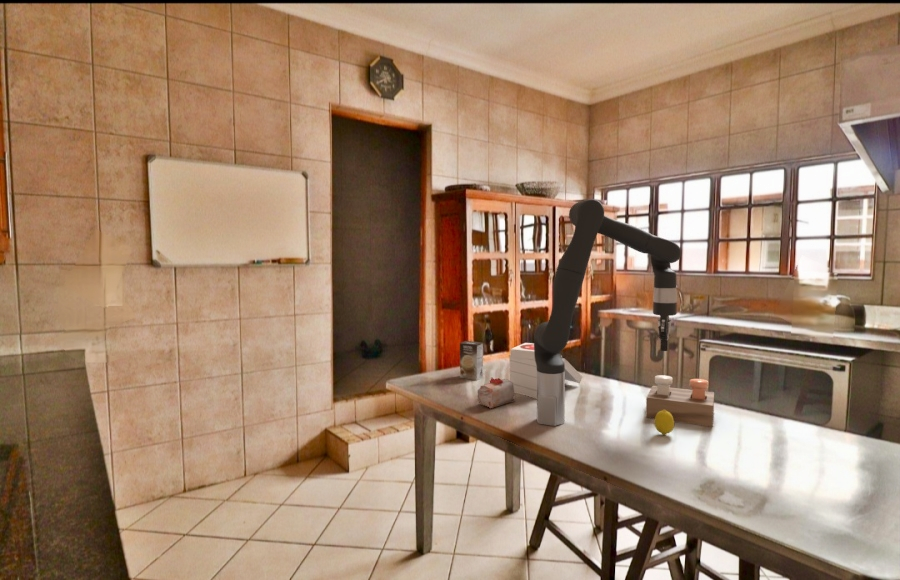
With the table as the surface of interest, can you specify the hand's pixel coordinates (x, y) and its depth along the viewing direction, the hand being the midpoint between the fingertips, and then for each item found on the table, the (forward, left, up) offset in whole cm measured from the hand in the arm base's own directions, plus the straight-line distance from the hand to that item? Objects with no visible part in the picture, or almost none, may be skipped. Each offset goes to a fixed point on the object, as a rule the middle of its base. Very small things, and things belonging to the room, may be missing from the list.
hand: (664, 350), depth 172 cm
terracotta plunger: (0, -11, -18) cm, 21 cm away
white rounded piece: (0, 0, -18) cm, 18 cm away
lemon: (-22, -2, -22) cm, 31 cm away
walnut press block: (0, -5, -22) cm, 23 cm away
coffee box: (+14, +82, -22) cm, 86 cm away
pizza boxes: (+11, +47, -22) cm, 53 cm away
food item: (-16, +56, -22) cm, 63 cm away
